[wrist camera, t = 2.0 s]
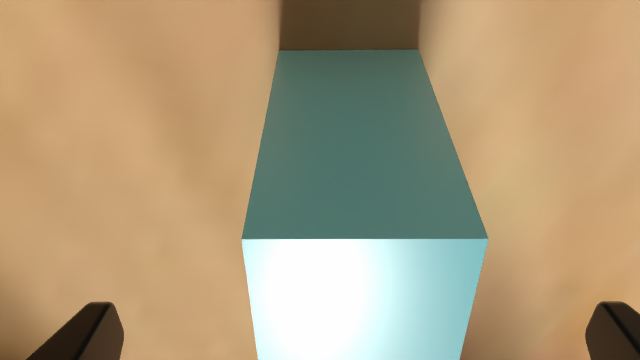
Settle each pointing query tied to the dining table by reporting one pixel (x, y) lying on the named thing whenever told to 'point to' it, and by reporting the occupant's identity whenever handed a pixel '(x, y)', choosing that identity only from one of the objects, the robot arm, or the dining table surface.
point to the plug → (359, 214)
